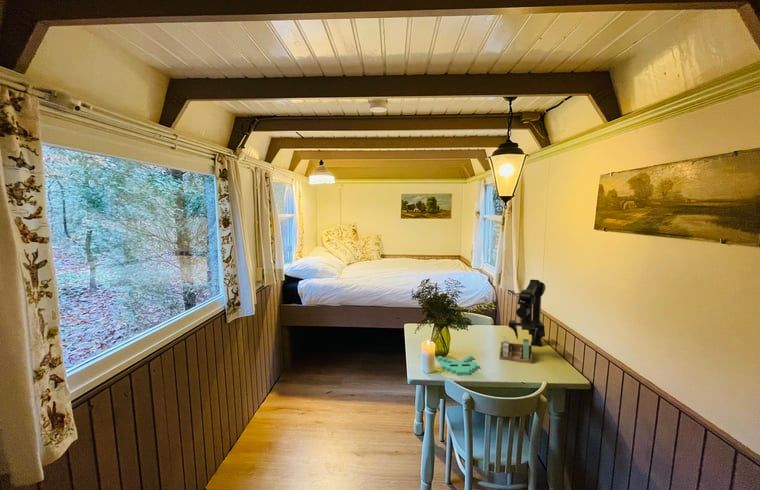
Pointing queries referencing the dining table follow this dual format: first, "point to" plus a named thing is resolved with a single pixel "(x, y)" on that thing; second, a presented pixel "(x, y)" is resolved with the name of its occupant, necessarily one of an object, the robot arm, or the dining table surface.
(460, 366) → the alien figure
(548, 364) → the dining table surface
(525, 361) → the book rack
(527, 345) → the green book
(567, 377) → the dining table surface
